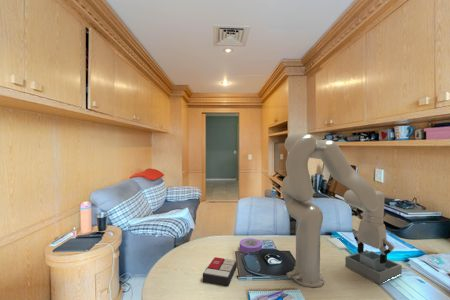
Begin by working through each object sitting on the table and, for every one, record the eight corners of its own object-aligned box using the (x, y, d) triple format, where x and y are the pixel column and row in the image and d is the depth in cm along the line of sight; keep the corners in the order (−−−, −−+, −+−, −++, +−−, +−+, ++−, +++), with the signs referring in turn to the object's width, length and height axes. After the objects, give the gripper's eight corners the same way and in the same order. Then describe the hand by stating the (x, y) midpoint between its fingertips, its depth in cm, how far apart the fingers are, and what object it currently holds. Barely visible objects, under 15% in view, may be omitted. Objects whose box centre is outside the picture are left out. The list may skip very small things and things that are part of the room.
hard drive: (326, 238, 131) (339, 247, 119) (340, 237, 132) (354, 247, 119) (326, 240, 131) (339, 250, 119) (340, 240, 132) (354, 250, 119)
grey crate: (379, 285, 89) (379, 273, 89) (345, 266, 103) (345, 256, 102) (401, 275, 95) (401, 265, 95) (366, 259, 109) (366, 250, 109)
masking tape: (248, 242, 127) (248, 236, 127) (266, 249, 119) (266, 242, 119) (235, 249, 119) (235, 242, 119) (252, 257, 111) (252, 250, 111)
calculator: (237, 259, 103) (228, 276, 88) (236, 268, 102) (228, 287, 88) (214, 256, 106) (202, 271, 91) (214, 265, 105) (202, 282, 91)
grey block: (373, 274, 95) (373, 260, 94) (359, 267, 100) (360, 254, 100) (384, 270, 98) (385, 256, 98) (370, 263, 103) (371, 250, 103)
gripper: (348, 214, 104) (347, 250, 105) (389, 226, 89) (387, 269, 89) (359, 212, 108) (357, 247, 108) (400, 224, 92) (398, 265, 92)
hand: (371, 257), depth 99 cm, fingers open, 9 cm apart
